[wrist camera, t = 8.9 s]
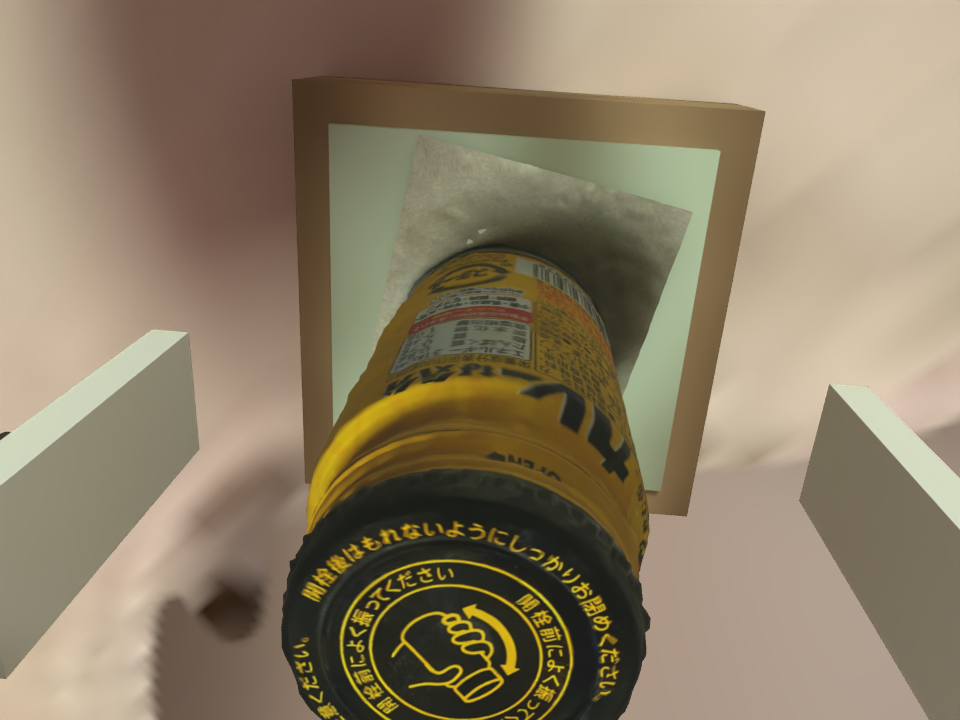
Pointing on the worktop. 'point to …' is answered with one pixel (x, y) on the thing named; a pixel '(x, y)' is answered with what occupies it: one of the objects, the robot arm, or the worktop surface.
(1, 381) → the worktop surface
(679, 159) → the stand
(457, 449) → the condiment
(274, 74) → the worktop surface
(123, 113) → the worktop surface
